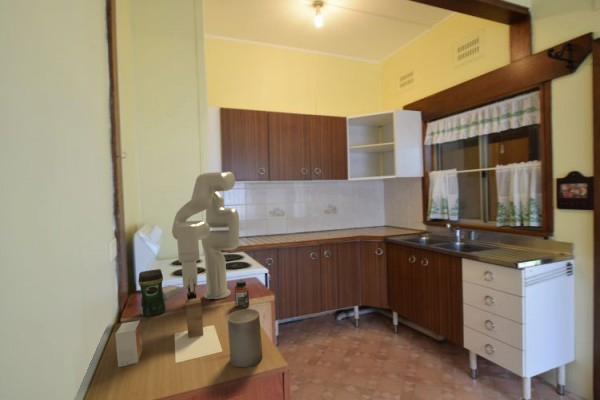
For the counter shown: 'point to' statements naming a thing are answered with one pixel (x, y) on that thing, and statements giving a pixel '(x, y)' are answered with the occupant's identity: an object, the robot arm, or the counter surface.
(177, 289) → the stone block
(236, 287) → the supplement bottle
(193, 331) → the walnut block
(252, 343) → the pillar candle
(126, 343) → the small box
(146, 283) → the coffee jar
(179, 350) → the cream mat
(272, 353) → the counter surface
